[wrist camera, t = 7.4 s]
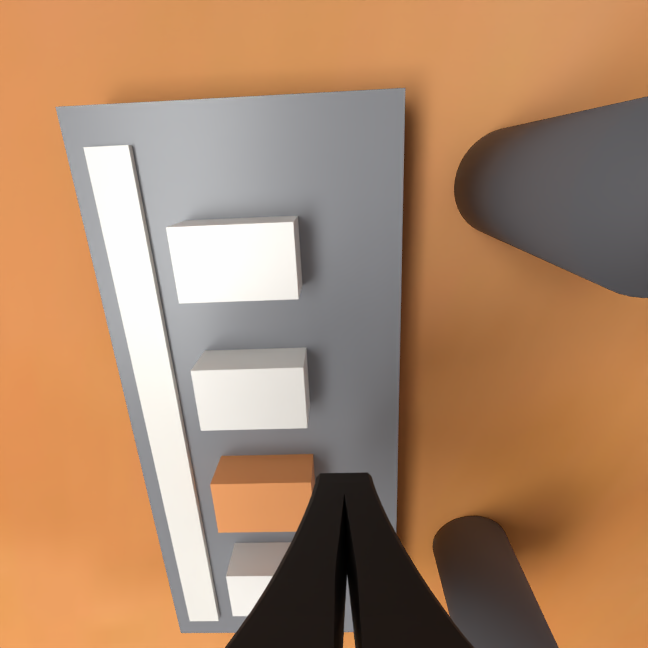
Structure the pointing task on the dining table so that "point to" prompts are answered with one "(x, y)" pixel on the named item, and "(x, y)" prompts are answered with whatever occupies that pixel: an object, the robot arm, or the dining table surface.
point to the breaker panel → (247, 315)
